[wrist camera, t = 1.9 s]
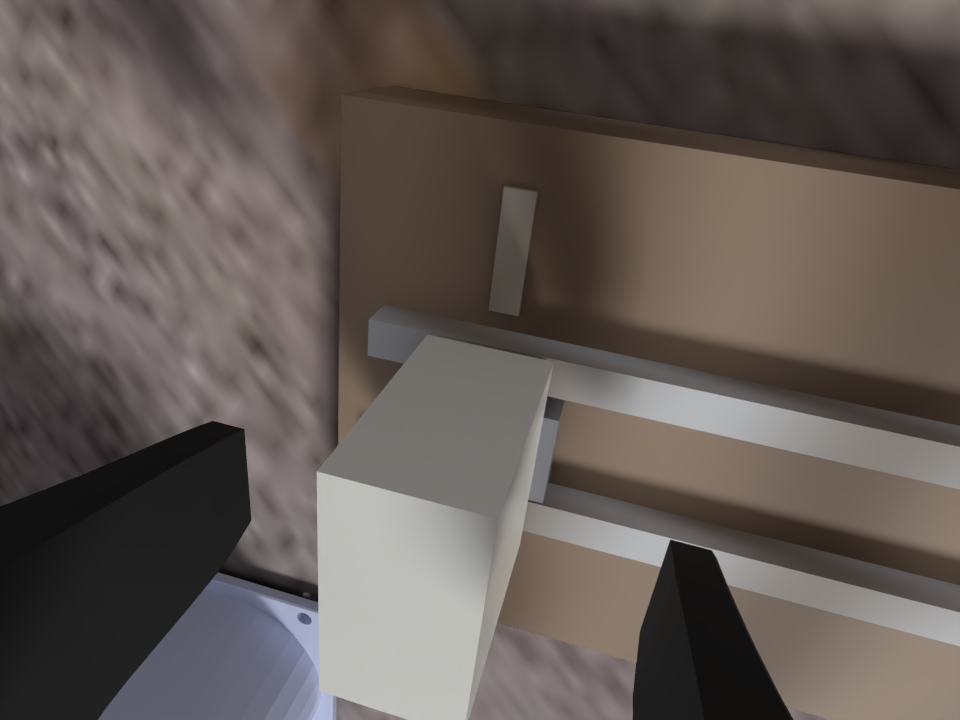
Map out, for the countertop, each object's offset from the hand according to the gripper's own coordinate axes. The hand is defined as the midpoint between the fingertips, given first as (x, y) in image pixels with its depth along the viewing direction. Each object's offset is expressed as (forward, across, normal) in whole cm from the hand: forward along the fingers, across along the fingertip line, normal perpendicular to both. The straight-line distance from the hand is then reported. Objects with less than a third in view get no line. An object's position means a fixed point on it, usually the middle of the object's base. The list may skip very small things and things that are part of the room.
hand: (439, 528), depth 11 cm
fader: (+3, 0, 0) cm, 3 cm away
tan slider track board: (+6, -6, 0) cm, 9 cm away
